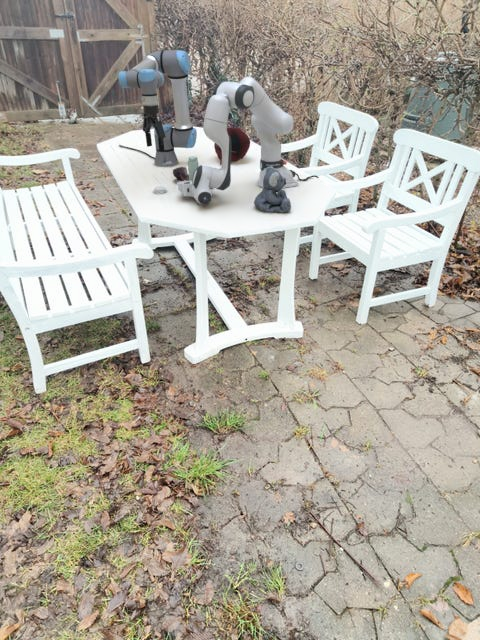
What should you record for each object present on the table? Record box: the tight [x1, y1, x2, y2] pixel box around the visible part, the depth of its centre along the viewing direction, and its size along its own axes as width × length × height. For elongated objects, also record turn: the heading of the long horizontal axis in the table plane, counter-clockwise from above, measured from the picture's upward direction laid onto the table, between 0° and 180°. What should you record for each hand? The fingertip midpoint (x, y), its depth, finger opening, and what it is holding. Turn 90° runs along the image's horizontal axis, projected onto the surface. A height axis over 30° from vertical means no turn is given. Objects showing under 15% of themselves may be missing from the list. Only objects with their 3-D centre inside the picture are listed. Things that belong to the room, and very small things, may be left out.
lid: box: [153, 185, 167, 195], centre depth 248 cm, size 6×6×2 cm
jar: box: [187, 155, 199, 181], centre depth 243 cm, size 6×6×19 cm
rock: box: [172, 166, 189, 182], centre depth 261 cm, size 12×9×10 cm
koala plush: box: [253, 166, 292, 213], centre depth 221 cm, size 17×18×20 cm
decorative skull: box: [213, 126, 251, 166], centre depth 295 cm, size 21×24×25 cm
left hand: (155, 148), depth 236 cm, fingers open, 13 cm apart
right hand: (194, 180), depth 245 cm, fingers open, 8 cm apart
